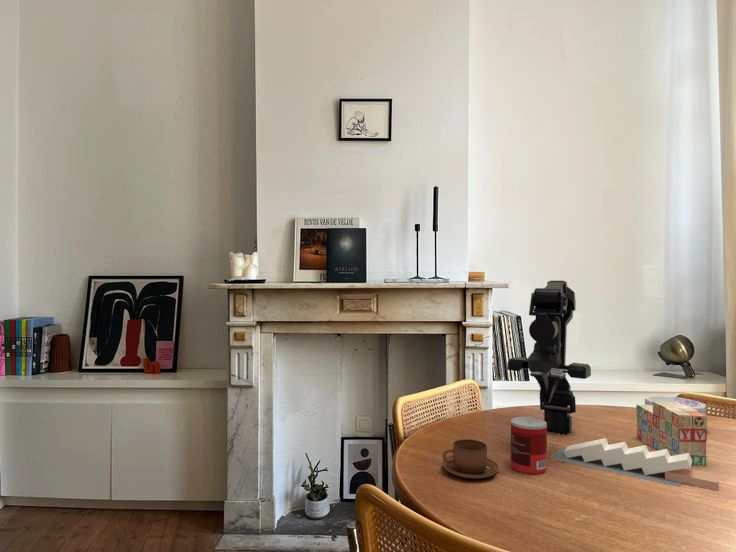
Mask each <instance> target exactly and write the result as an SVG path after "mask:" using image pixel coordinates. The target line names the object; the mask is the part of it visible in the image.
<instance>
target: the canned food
mask: <svg viewBox="0 0 736 552" xmlns="http://www.w3.org/2000/svg"><path fill="white" fill-rule="evenodd" d="M547 456H548V432H547V423H546V422H545V421H544V419H541V418H537V417H533V416H516V417H513V418H511V420H510V467H511V469H512V470H514V471H515V472H517V473H519V474H524V475H531V476H536V475H542V474H545V473H546V471H547V467H548V466H547V464H548V461H547V459H548V457H547Z"/></svg>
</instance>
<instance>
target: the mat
mask: <svg viewBox="0 0 736 552" xmlns="http://www.w3.org/2000/svg"><path fill="white" fill-rule="evenodd" d="M566 448H567V447H563V446H561V447H559V448H558V450H557V451H556V452H555V453H553V455H552V456H550V458H549V459H550V460H555V461H559V462H560V461H561V462H564V463H568V464H571V465H572V464H574V465H579V466H582V467H585V468H586V467H587V468H591V469H596V470H600V471H605V472H610V473H615V474H619V475H623V476H627V477H632V478H637V479H642V480H645V481H646V480H647V481H651V482H655V483H659V484H664V485H669V486H673V487H678V488H682V484H683V483H680V482H675V481H671V480H666V479H665V472H661V473H655V474H649V475H645V474H644V472H643V470H642V468H637V469H631V470H625V471H624V469H623V467H622V464H621V463H620V464H614V465H609V466H604V464H603V462H602V460H601V459H599V460H594V461H588V462H584V459H583V457H582V455H580V456H575V457H570V458H566V456H565V454H564V450H565V449H566Z"/></svg>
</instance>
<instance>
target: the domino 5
mask: <svg viewBox="0 0 736 552" xmlns="http://www.w3.org/2000/svg"><path fill="white" fill-rule="evenodd" d="M691 464H692V459H691V457H690V454H689V453H685V454H680V455H674V456H670V459H669V462H668V463H665V464H659V465H654V466H648V467H642V470H643V472H644V474H645V475H649V474H655V473H661V472H667V471H673V470H678V469H684V468H686V469H690V468H691V467H692V465H691Z"/></svg>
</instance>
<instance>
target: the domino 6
mask: <svg viewBox="0 0 736 552" xmlns="http://www.w3.org/2000/svg"><path fill="white" fill-rule="evenodd" d="M665 479H666V480H671V481H675V482H680V483H682V484H684V485H690V486H694V487H698V488H703V489H708V490H712V491H715V492H717V491H718V486H719V481H718V480H719V475H718V474H715V473H712V472H711V473H709V472H705V471H701V470H696V469H690V468H684V469H678V470H673V471H667V472H665Z"/></svg>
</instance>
